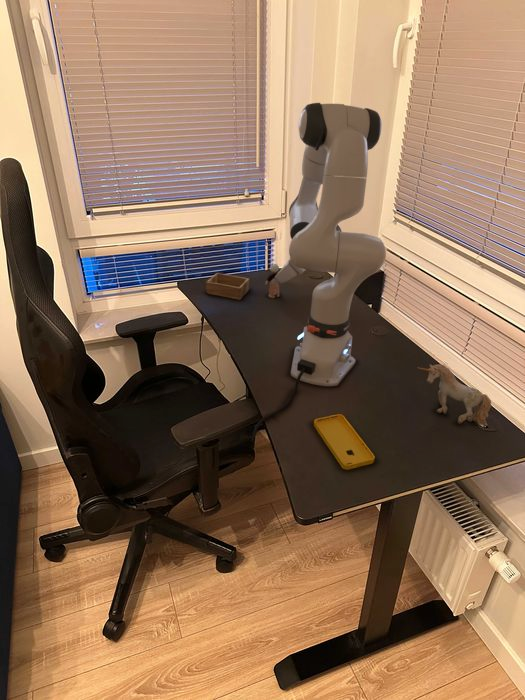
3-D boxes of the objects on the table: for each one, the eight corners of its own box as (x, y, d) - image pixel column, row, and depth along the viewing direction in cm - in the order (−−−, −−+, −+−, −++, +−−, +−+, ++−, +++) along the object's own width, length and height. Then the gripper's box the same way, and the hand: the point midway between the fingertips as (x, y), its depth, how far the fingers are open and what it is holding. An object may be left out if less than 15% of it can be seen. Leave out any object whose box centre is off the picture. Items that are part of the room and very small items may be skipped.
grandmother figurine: (276, 291, 191) (278, 260, 185) (284, 295, 189) (285, 263, 182) (262, 297, 187) (263, 265, 180) (269, 300, 184) (270, 268, 178)
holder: (240, 299, 184) (240, 288, 182) (206, 293, 188) (206, 282, 185) (249, 289, 192) (249, 278, 190) (216, 283, 196) (216, 272, 193)
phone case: (341, 417, 129) (341, 413, 128) (375, 462, 115) (376, 458, 114) (312, 423, 126) (312, 419, 125) (344, 470, 113) (344, 466, 112)
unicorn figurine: (413, 395, 138) (423, 354, 131) (488, 417, 131) (502, 375, 124) (407, 409, 132) (417, 367, 125) (484, 433, 125) (500, 390, 118)
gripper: (306, 240, 184) (279, 261, 191) (290, 259, 167) (261, 281, 175) (317, 254, 185) (290, 274, 193) (302, 274, 168) (273, 295, 176)
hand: (276, 277), depth 184 cm, fingers open, 7 cm apart
